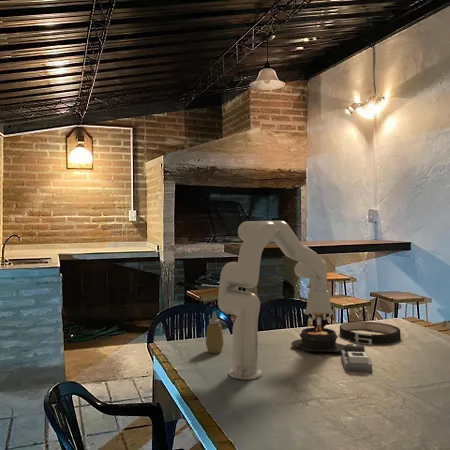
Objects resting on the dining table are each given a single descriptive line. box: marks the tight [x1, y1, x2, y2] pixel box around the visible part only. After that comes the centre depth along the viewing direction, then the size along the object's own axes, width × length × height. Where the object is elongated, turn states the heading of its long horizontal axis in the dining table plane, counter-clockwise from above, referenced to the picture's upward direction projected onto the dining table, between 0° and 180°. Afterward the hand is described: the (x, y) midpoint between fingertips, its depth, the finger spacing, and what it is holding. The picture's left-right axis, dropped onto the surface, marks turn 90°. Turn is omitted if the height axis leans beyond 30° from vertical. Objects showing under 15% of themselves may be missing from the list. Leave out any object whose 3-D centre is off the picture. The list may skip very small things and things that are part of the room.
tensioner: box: [340, 343, 373, 373], centre depth 186 cm, size 18×10×7 cm, turn 171°
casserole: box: [290, 327, 346, 354], centre depth 208 cm, size 25×19×8 cm
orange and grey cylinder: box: [315, 313, 323, 332], centre depth 208 cm, size 3×3×9 cm
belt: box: [339, 321, 401, 345], centre depth 230 cm, size 29×30×5 cm
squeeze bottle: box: [205, 311, 224, 354], centre depth 205 cm, size 8×8×18 cm
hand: (318, 327), depth 208 cm, fingers closed on orange and grey cylinder, 3 cm apart
